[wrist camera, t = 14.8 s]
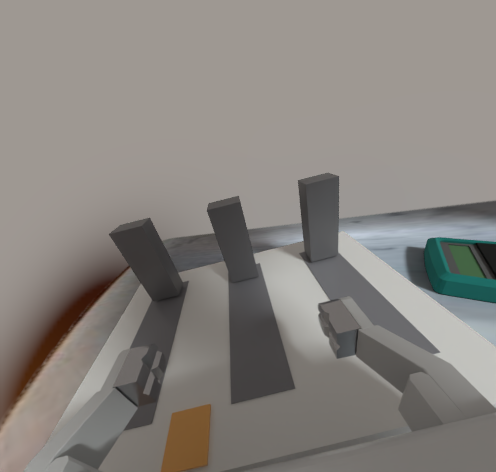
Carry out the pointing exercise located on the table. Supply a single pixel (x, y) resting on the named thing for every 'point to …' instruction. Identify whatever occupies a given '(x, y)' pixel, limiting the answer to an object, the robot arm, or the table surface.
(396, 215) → the table surface
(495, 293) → the digital multimeter
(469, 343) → the box
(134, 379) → the robot arm
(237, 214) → the post
